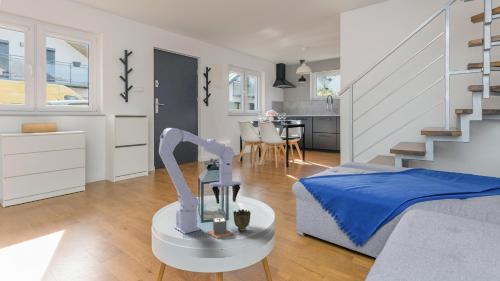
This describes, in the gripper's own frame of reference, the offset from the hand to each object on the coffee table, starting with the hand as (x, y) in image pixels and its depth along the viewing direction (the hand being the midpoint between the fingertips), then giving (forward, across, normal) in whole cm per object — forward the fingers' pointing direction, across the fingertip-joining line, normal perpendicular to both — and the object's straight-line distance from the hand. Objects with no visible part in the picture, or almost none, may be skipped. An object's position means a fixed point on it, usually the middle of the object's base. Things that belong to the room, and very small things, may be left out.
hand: (226, 202), depth 128 cm
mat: (+9, +6, +11) cm, 16 cm away
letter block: (+9, +6, +11) cm, 15 cm away
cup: (+10, -4, +11) cm, 15 cm away
